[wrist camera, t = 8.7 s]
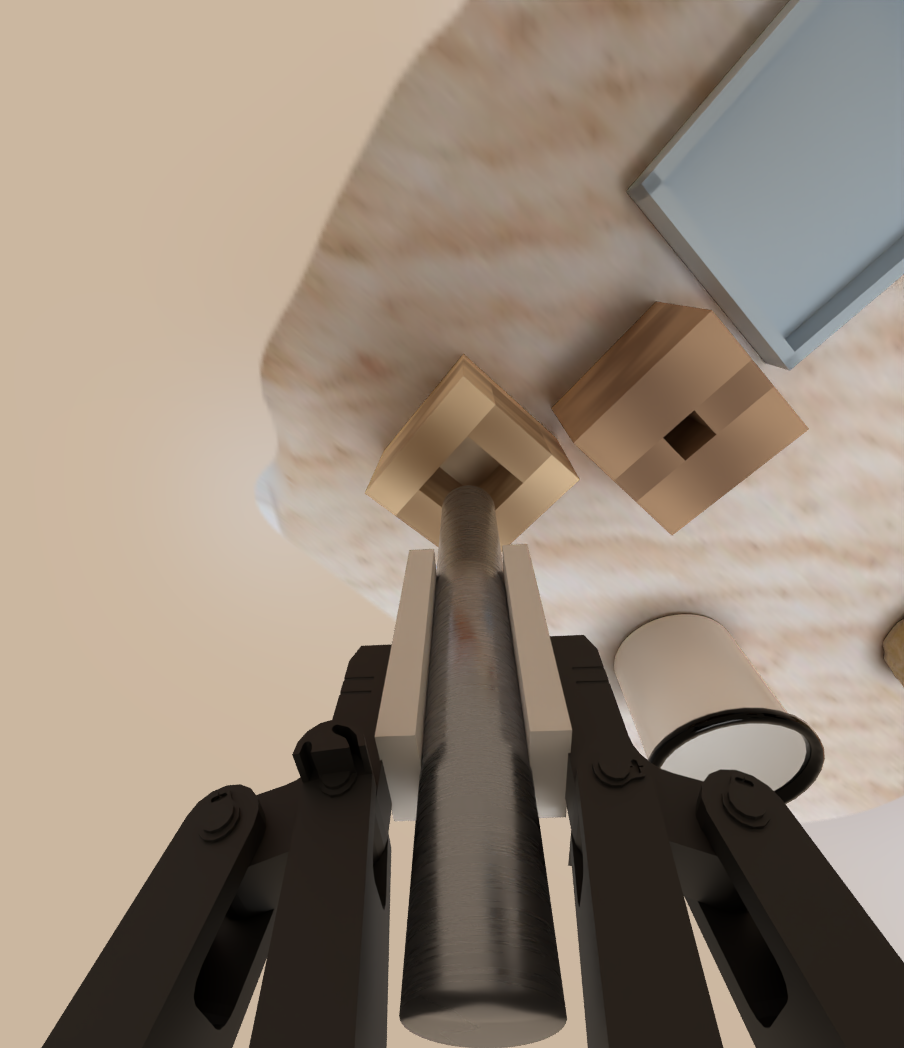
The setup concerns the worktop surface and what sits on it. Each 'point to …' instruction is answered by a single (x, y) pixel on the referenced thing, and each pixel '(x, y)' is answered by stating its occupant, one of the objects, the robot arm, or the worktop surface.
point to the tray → (793, 176)
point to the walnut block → (677, 413)
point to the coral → (895, 650)
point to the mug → (711, 707)
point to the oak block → (471, 457)
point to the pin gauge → (477, 817)
